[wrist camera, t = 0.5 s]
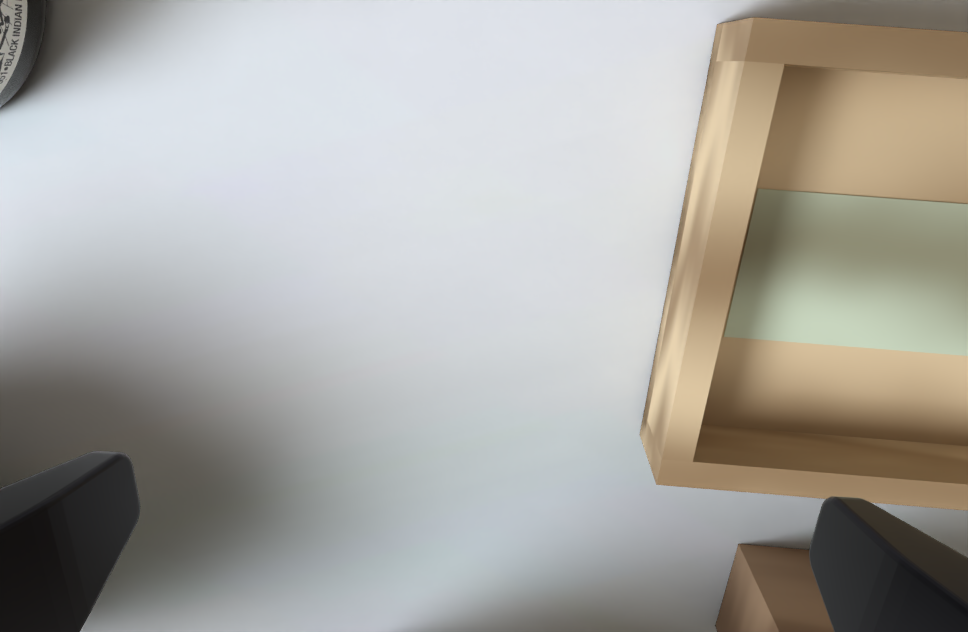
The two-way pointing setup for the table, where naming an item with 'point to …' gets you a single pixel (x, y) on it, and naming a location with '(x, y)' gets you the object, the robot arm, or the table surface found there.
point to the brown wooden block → (772, 593)
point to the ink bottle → (19, 42)
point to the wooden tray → (821, 271)
